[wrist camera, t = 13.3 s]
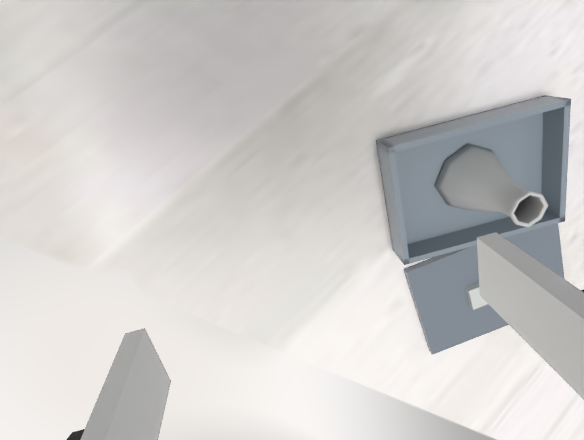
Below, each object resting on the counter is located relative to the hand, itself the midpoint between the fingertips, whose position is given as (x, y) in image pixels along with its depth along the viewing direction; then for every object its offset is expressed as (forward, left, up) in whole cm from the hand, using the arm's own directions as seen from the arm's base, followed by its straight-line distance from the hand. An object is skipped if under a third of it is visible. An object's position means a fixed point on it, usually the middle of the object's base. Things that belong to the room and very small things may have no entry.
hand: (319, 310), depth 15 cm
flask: (+8, +20, -26) cm, 34 cm away
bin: (+8, +20, -27) cm, 34 cm away
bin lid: (+23, +22, -27) cm, 41 cm away
